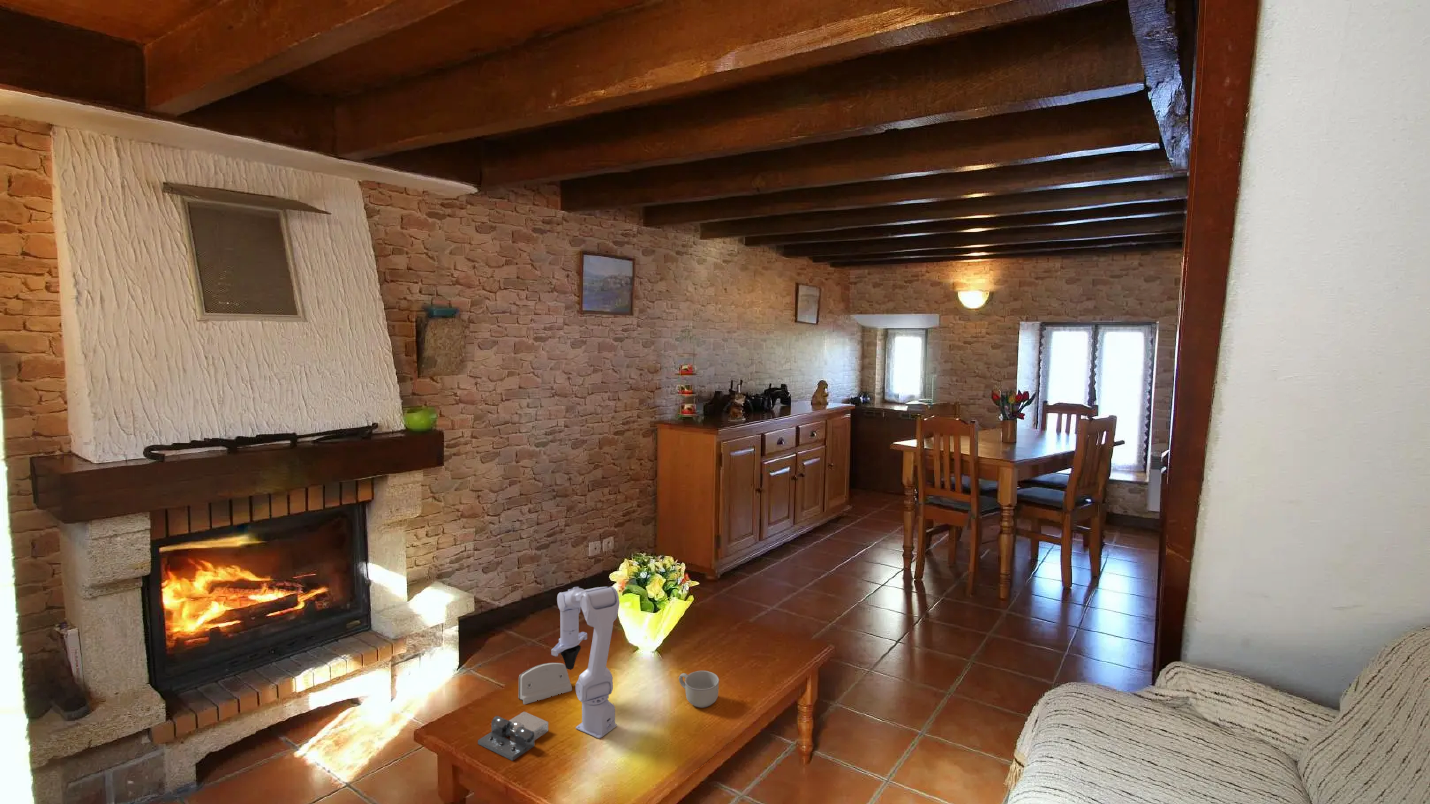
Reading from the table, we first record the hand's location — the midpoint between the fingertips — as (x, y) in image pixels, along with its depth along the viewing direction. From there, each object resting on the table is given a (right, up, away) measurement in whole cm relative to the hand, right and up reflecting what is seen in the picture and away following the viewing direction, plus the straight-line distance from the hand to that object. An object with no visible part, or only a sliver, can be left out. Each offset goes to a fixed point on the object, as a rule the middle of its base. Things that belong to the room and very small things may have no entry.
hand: (569, 668), depth 225 cm
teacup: (+41, -11, 0) cm, 42 cm away
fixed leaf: (-12, -12, -24) cm, 30 cm away
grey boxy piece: (-9, -12, -19) cm, 24 cm away
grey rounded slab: (-9, -9, +4) cm, 13 cm away
